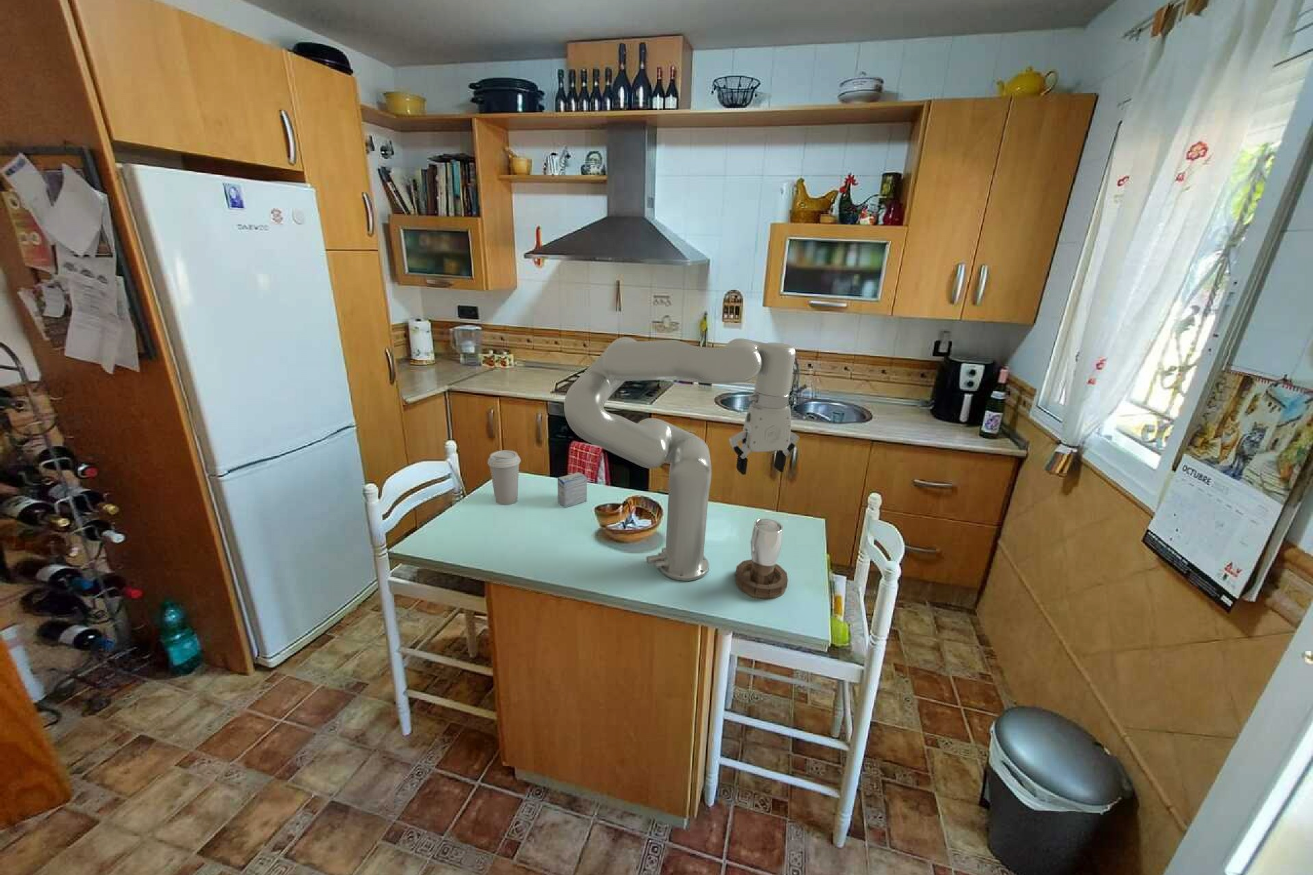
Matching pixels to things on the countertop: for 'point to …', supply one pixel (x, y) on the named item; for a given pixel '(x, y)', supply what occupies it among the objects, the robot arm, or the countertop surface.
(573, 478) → the medicine box
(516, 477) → the coffee cup
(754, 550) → the beer glass
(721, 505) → the countertop surface
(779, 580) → the round tray
